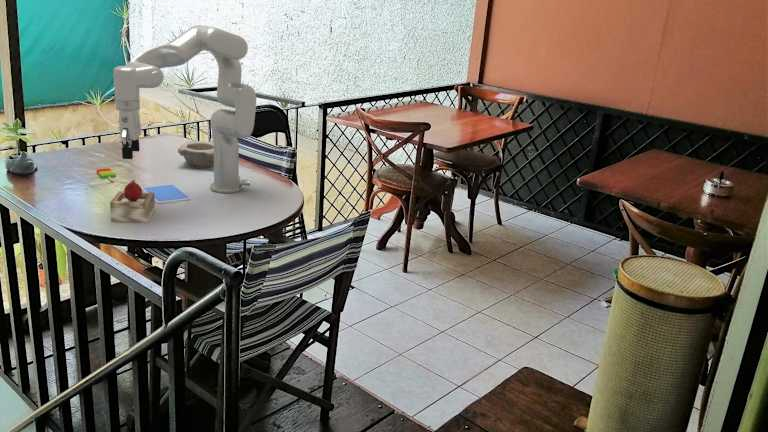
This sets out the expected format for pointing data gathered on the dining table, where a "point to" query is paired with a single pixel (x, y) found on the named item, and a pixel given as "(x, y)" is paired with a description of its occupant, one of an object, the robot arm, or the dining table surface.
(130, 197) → the onion
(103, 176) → the popsicle
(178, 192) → the tablet computer
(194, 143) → the mortar
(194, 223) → the dining table surface
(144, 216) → the wooden box
